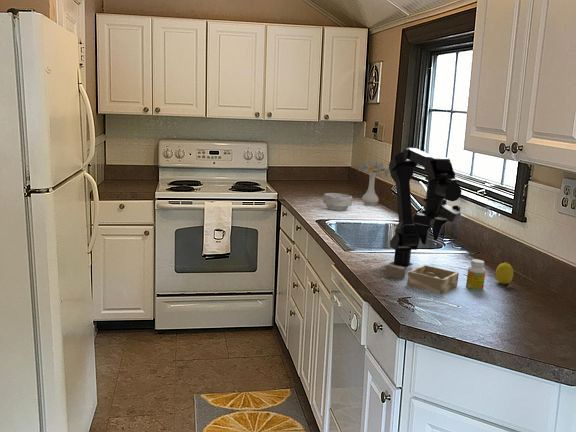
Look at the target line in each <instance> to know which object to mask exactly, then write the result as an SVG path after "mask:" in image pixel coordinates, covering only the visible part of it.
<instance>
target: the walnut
mask: <svg viewBox="0 0 576 432" xmlns="http://www.w3.org/2000/svg"><path fill="white" fill-rule="evenodd" d="M426 275H428V276H432V277H436V276H435V274H434V273H433V272H428V273H426Z"/></svg>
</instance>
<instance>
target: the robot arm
mask: <svg viewBox="0 0 576 432" xmlns="http://www.w3.org/2000/svg"><path fill="white" fill-rule="evenodd" d="M418 165H419V166H421V167H423V168H424V169H423V170H424V172H426V174H427V176H425V180H426V181H427V185H426V187H427V188H426V193H425V194H426V195H425V197H423V202H425V203H424V204H425V205H424V209H423V210H421V212H419V213H416V214H413V210H412V209H413V208H412V207H413V206H412V197H411V185H410V181H411V180H412V178H413V176H414V169H416V167H417V166H418ZM388 168H389V170H390V173H389V174H390V178H391V179H392V180H393V182H394V183H395V189H396V190H395V191H396V202H397V214H398V223H397V225H396V227H395V230H394V235H393V236H392V238H391V239H390V240H389V248H390V249H392V250H394V256H393V261H391V262H389V264H392V265H396V266H401V267H405V268H408V267H410V266H412V265H414V263H412V262H411V254H412V250H413V251H414V250H415V251H417V250H418V247H419V244H420V241H421V243H422V245H427V241H428V237H429V233H430V231H431V230H432V231H431V232H432V237H433V240H434V241H438V240H439V237H440V234H441V232H442V230H443V227H444V226H445V225H446V224H447V223H449V222H450V223H454V222H457V220H458V218H459V217H460V216H461V214H462V213H461V212H462V211H461V206H460V205H458V204H454V205H453V206H451V205H448V204H447V201H450V202H455V201H457V200H459V199H460V197H461V195H462V188H461V186H460V185H459V184H458V183H457V182H458V180H457V179H456V174H455V171H454V168H453V164H452V162H451V160H450V158H449V157H442V156H441V157H440V156H434V155H431V154H429V153H427V152H425V151H423V150H421V149H419V148H417V147H415V148H414V147H407V148H404V149H403V150H402V151H401V152H400V153H398V154H396V155H394V156H393V157H392V158H391V160H390V161H389V163H388Z"/></svg>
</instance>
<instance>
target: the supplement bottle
mask: <svg viewBox="0 0 576 432" xmlns="http://www.w3.org/2000/svg"><path fill="white" fill-rule="evenodd" d="M485 279H486V269H485V261H484V260H482V259H476V258H475V259H474V258H473V259H471V261H470V266H468V269H467V276H466V281H465V282H466V283H465V288H466V289H468V290H469V291H473V292H474V291H475V292H477V291H478V292H482V291H484V286H485V285H484V284H485Z"/></svg>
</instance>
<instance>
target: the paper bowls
mask: <svg viewBox="0 0 576 432" xmlns="http://www.w3.org/2000/svg"><path fill="white" fill-rule="evenodd" d="M323 204H324V205H325V206H326V208H327V209H328V210H330V211H334V212H335V211H336V212H345V211H347V209H348V208H349V207H351V206H352V204H353V196H352V195H349V194H346V193H345V194H344V193H338V192H337V193H336V192H326V193H324V194H323Z"/></svg>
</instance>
